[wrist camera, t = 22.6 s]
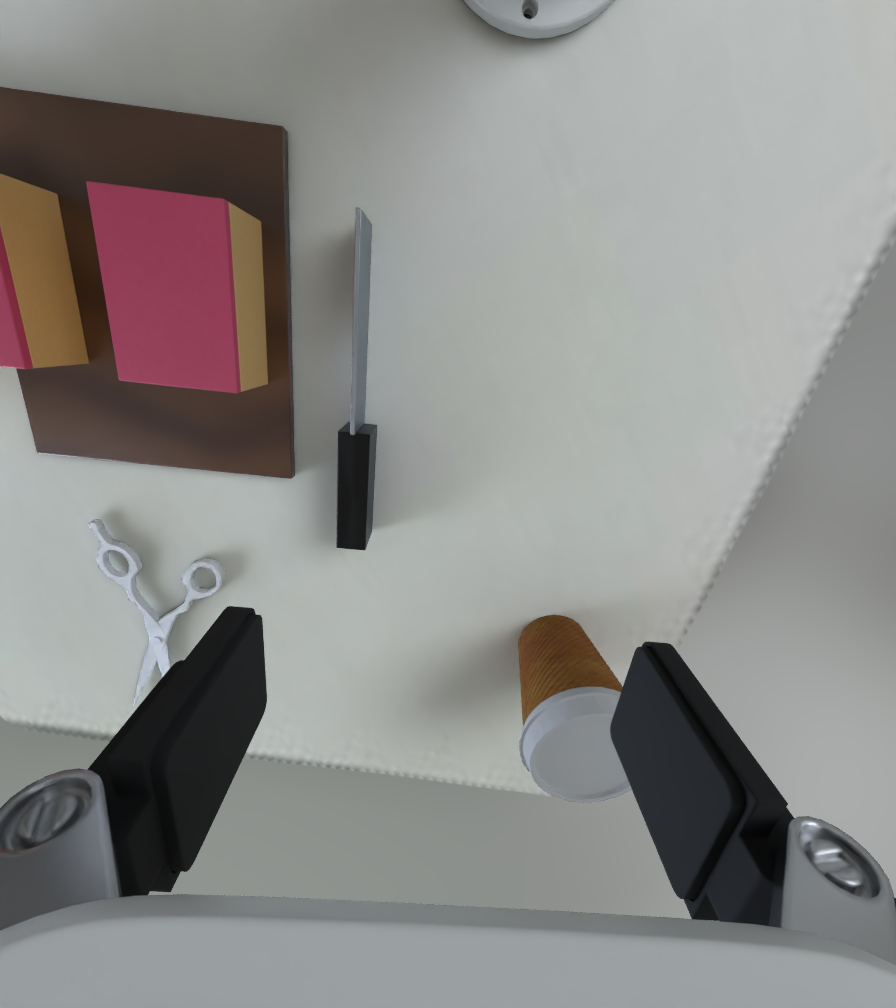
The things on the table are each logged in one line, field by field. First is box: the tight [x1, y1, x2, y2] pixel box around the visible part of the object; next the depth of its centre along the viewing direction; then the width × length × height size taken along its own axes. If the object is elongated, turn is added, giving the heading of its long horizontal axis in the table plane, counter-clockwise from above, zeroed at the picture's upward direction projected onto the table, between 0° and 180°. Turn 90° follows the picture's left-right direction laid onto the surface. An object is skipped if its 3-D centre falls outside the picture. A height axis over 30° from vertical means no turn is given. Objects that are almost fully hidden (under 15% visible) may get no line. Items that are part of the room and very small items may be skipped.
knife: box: [336, 207, 377, 550], centre depth 30 cm, size 22×2×4 cm, turn 174°
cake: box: [86, 181, 268, 393], centre depth 27 cm, size 10×7×5 cm
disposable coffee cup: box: [518, 615, 632, 803], centre depth 35 cm, size 10×10×12 cm
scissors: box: [88, 519, 225, 708], centre depth 39 cm, size 11×1×20 cm
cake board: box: [0, 87, 295, 478], centre depth 29 cm, size 22×19×1 cm
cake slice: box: [0, 174, 89, 369], centre depth 26 cm, size 10×4×5 cm, turn 174°
